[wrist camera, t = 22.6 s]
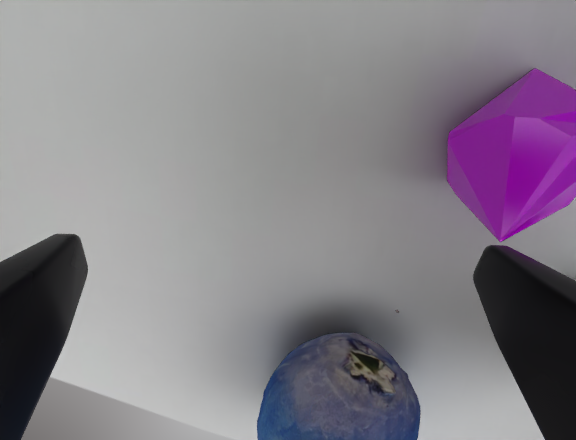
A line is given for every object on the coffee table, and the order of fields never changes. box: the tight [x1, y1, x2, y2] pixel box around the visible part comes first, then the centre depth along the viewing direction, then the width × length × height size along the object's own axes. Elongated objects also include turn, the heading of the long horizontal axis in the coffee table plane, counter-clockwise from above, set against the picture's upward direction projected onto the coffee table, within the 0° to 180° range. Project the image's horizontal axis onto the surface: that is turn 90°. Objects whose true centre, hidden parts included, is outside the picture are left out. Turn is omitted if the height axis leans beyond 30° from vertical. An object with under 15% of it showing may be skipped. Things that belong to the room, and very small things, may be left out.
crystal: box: [447, 68, 576, 242], centre depth 16 cm, size 5×5×5 cm
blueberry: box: [257, 310, 420, 440], centre depth 21 cm, size 9×9×15 cm
